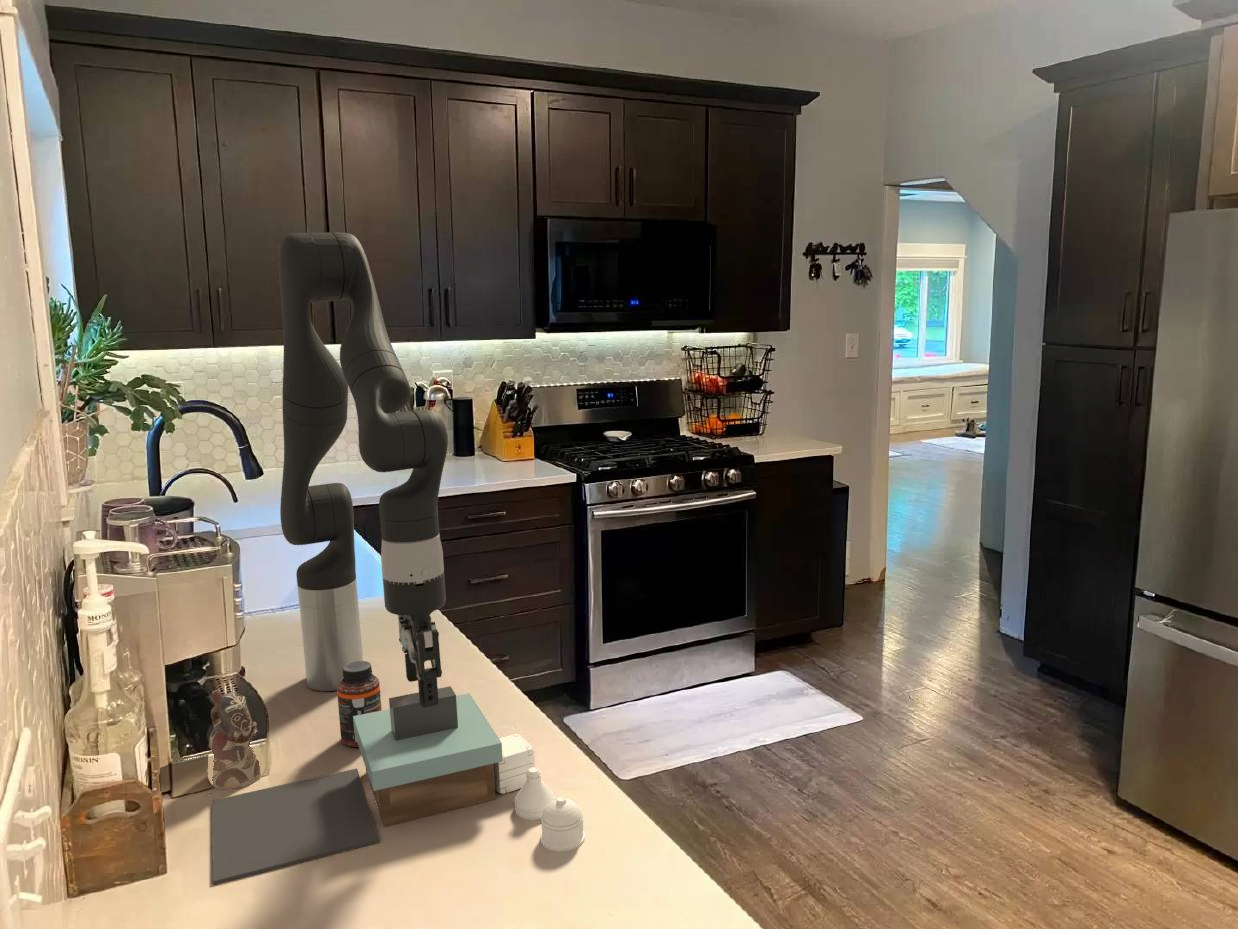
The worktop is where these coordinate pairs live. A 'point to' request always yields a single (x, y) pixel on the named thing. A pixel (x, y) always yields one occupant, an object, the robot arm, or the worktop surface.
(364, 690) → the supplement bottle
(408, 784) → the box
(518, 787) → the container set
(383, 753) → the lid
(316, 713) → the worktop surface
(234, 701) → the figurine
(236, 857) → the mat
